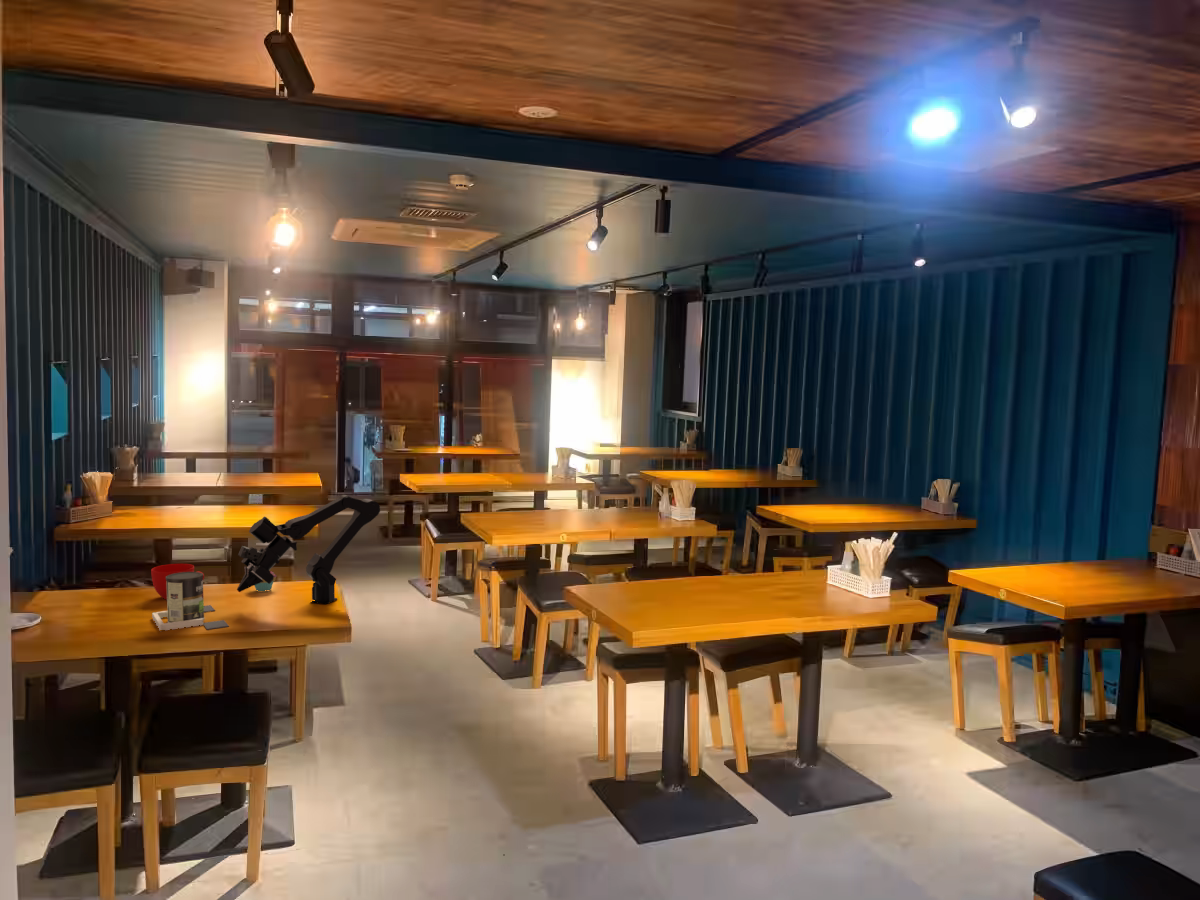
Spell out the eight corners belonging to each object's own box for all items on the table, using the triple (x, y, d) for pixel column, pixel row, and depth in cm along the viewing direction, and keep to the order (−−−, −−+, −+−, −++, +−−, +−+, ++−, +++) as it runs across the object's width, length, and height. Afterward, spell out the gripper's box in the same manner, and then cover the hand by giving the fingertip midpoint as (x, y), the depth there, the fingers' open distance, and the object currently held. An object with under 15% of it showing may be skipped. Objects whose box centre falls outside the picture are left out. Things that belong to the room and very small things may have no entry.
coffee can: (207, 615, 271) (206, 570, 270) (200, 624, 261) (199, 578, 260) (171, 616, 269) (170, 572, 267) (163, 626, 259) (161, 580, 257)
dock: (193, 612, 273) (193, 607, 273) (203, 624, 261) (203, 619, 260) (152, 618, 267) (152, 612, 266) (160, 631, 254) (159, 625, 254)
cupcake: (280, 588, 306) (280, 554, 305) (269, 594, 297) (268, 559, 296) (257, 587, 306) (256, 553, 305) (245, 593, 298) (244, 558, 297)
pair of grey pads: (210, 605, 281) (210, 605, 281) (228, 626, 259) (228, 625, 259) (190, 608, 278) (190, 607, 278) (207, 629, 256) (207, 628, 256)
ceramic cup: (195, 602, 285) (194, 572, 284) (144, 601, 285) (143, 571, 284) (213, 592, 298) (212, 564, 297) (164, 591, 298) (163, 563, 297)
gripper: (247, 531, 282) (211, 569, 277) (261, 541, 267) (224, 581, 262) (273, 553, 287) (238, 590, 282) (288, 563, 272) (252, 603, 267)
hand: (238, 590), depth 273 cm, fingers closed
